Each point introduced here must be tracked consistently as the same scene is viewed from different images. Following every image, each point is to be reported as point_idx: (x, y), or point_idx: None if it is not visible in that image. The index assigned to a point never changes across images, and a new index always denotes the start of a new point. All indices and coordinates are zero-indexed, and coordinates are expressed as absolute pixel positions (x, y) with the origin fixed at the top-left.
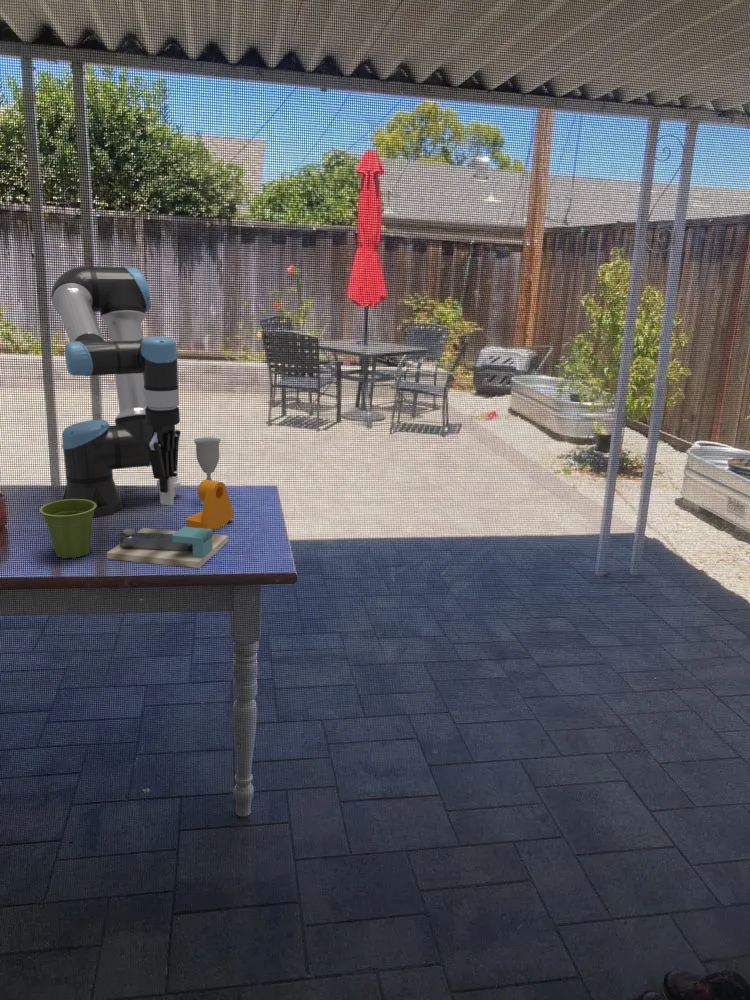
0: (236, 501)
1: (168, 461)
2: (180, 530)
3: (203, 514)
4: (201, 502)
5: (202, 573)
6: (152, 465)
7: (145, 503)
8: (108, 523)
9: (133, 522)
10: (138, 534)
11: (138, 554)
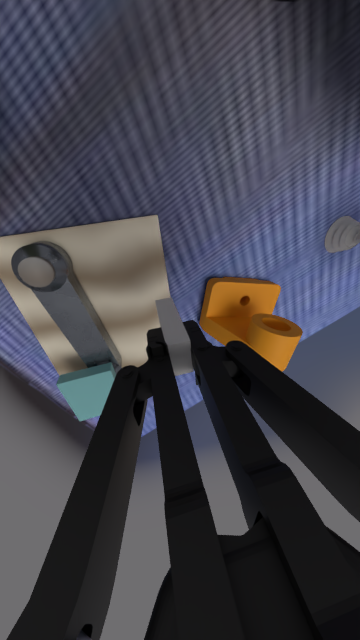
0: (344, 272)
1: (213, 416)
2: (89, 378)
3: (216, 326)
4: (339, 220)
5: (62, 399)
6: (94, 439)
7: (349, 64)
8: (183, 47)
9: (211, 134)
10: (58, 286)
11: (26, 308)
